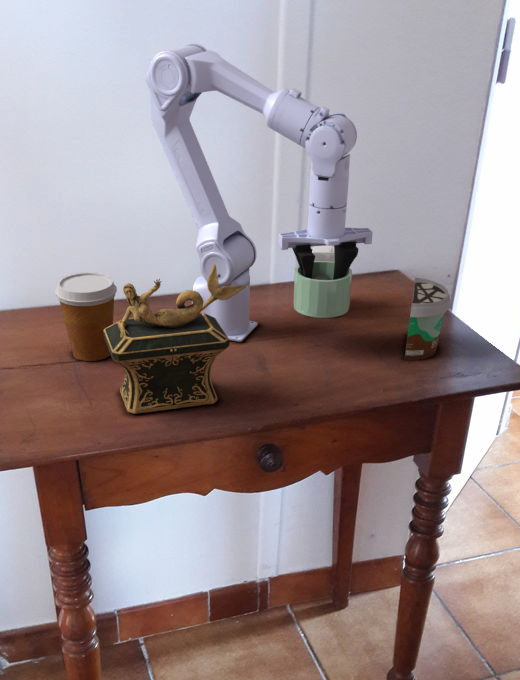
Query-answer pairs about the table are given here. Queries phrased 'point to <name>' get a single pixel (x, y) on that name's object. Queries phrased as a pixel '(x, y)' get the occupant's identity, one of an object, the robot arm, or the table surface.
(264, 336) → the table surface
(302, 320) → the table surface
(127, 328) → the decorative box
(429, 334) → the food container
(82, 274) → the disposable coffee cup
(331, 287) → the cup
